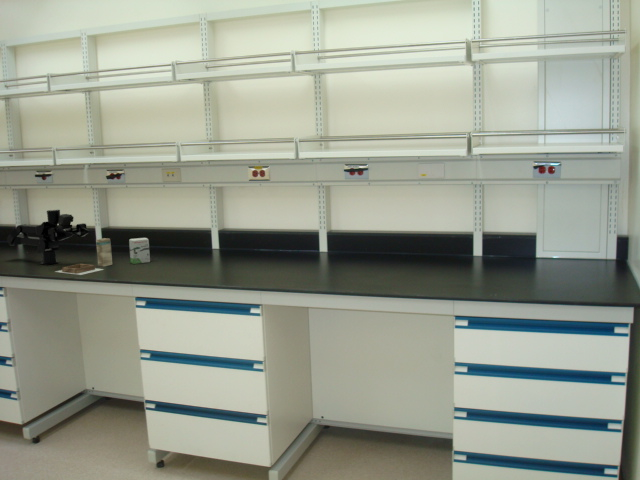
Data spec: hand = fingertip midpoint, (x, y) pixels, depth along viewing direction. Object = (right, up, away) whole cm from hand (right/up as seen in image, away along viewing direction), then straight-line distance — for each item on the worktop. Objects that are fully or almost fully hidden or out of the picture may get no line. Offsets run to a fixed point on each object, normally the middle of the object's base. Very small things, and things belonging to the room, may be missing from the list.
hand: (81, 233), depth 277 cm
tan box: (+10, -16, +5) cm, 19 cm away
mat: (+2, -18, -6) cm, 19 cm away
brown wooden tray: (+2, -17, -7) cm, 19 cm away
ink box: (+25, -15, +12) cm, 31 cm away
